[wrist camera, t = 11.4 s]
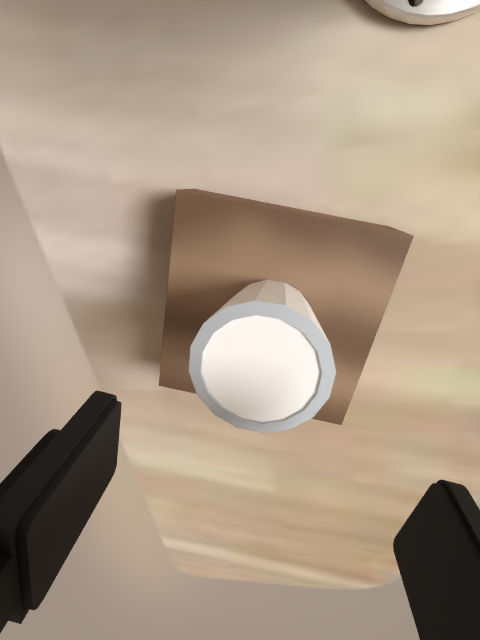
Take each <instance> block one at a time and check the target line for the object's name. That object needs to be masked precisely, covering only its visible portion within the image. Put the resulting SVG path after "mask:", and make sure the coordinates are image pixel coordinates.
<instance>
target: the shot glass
mask: <svg viewBox="0 0 480 640" xmlns="http://www.w3.org/2000/svg"><path fill="white" fill-rule="evenodd" d="M189 373H190V376H191V379H192V382H193V385H194V387H195V390H196V393H197V395H198V397H199V398H200V399H201V400H202V401H203V402H204V403H205V405H206V406H207V407H208V408H209V409H210V410H211V411H212V413H213V414H214V415H216V416H218V417H219V418H221V419H223V420H225V421H226V422H228V423H230V424H232V425H233V426H235V427H237V428H242V429H247V430H252V431H257V432H262V433H266V432H274V431H282V430H289V429H292V428H294V427H296V426H298V425H299V424H301V423H303V422H305V421H307V420H309V419H311V418H313V417H314V416H315V415H316V413H317V412H318V411H319V410H320V408H321V407H322V406H323V405H324V404H325V402H326V401H327V400H328V399H329V398H330V394H331V391H332V387H333V383H334V379H335V375H336V368H335V363H334V359H333V354H332V349H331V345H330V343H329V341H328V339H327V337H326V335H325V333H324V331H323V330H322V328H321V326H320V324H319V322H318V320H317V318H316V316H315V314H314V312H313V311H312V309H311V307H310V305H309V303H308V302H307V301H306V299H305V298H304V297H303V295H302V294H301V293H300V291H298V290H297V289H295V288H293V287H292V286H290V285H288V284H287V283H285V282H280V281H273V280H263V281H259V282H255V283H251V284H249V285H248V286H247V287H245V288H244V289H242V290H241V291H240V292H238V293H237V294H236V295H235V296H234V297H233V298H231V299H230V300H229V301H228V302H227V303H226V304H225V305H224V306H222V307H221V308H220V309H219V310H218V311H217V312H216V313H215V314H213V315H212V316H211V317H210V318H209V319H208V320H207V321H206V322H204V323H203V325H202V327H201V329H200V330H199V332H198V334H197V336H196V337H195V339H194V341H193V343H192V345H191V347H190V361H189Z"/></svg>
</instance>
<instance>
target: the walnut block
mask: <svg viewBox="0 0 480 640" xmlns="http://www.w3.org/2000/svg"><path fill="white" fill-rule="evenodd" d="M412 239H413V236H412V235H410V234H407V233H405V232H402V231H400V230H397V229H394V228H392V227H389V226H384V225H379V224H374V223H369V222H363V221H358V220H353V219H348V218H343V217H337V216H332V215H327V214H322V213H317V212H312V211H306V210H301V209H296V208H291V207H286V206H280V205H275V204H270V203H265V202H260V201H255V200H249V199H244V198H239V197H234V196H229V195H223V194H218V193H213V192H208V191H203V190H198V189H185V190H176V198H175V209H174V220H173V232H172V243H171V254H170V266H169V277H168V288H167V299H166V311H165V322H164V333H163V344H162V356H161V367H160V378H159V386H163V387H168V388H173V389H177V390H182V391H187V392H191V393H196V390H195V387H194V385H193V382H192V379H191V376H190V373H189V361H190V347H191V345H192V343H193V341H194V339H195V337H196V336H197V334H198V332H199V330H200V329H201V327H202V325H203V323H204V322H206V321H207V320H208V319H209V318H210V317H211V316H212V315H213V314H215V313H216V312H217V311H218V310H219V309H220V308H221V307H222V306H224V305H225V304H226V303H227V302H228V301H229V300H230V299H231V298H233V297H234V296H235V295H236V294H237V293H238V292H240V291H241V290H242V289H244V288H245V287H247V286H248V285H249V284H251V283H255V282H259V281H263V280H273V281H280V282H285V283H287V284H288V285H290V286H292V287H293V288H295V289H297V290H298V291H300V293H301V294H302V295H303V297H304V298H305V299H306V301H307V302H308V303H309V305H310V307H311V309H312V311H313V312H314V314H315V316H316V318H317V320H318V322H319V324H320V326H321V328H322V330H323V331H324V333H325V335H326V337H327V339H328V341H329V343H330V345H331V349H332V354H333V359H334V363H335V368H336V375H335V379H334V383H333V387H332V391H331V394H330V398H329V399H328V400H327V401H326V402H325V404H324V405H323V406H322V407H321V408H320V410H319V411H318V412H317V413H316V415H315V416H314V417H313V418H311V419H316V420H321V421H325V422H330V423H334V424H339V425H342V422H343V420H344V417H345V414H346V412H347V409H348V406H349V404H350V401H351V399H352V396H353V393H354V391H355V388H356V386H357V383H358V380H359V378H360V375H361V372H362V370H363V367H364V365H365V362H366V359H367V357H368V354H369V352H370V349H371V346H372V344H373V341H374V338H375V336H376V333H377V331H378V328H379V325H380V323H381V320H382V318H383V315H384V312H385V310H386V307H387V304H388V302H389V299H390V297H391V294H392V291H393V289H394V286H395V284H396V281H397V278H398V276H399V273H400V270H401V268H402V265H403V263H404V260H405V257H406V255H407V252H408V250H409V247H410V244H411V242H412ZM196 394H197V393H196Z"/></svg>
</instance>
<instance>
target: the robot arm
mask: <svg viewBox="0 0 480 640" xmlns="http://www.w3.org/2000/svg"><path fill="white" fill-rule="evenodd" d="M365 1H366V2H367V3H368V4H369V5H370V6H371V7H372V8H374V9H376V10H377V11H379V12H381V13H382V14H384V15H385V16H387V17H389V18H392V19H395V20H398V21H402V22H405V23H408V24H422V25H434V24H440V23H445V22H451V21H455V20H458V19H461V18H463V17H466V16H468V15H471V14H473V13H476V12H478V11H480V0H414V2H415V7H412V6H411V5H409V2H408V0H365ZM120 417H121V402H119V401H117V397H116V395H113V394H109V393H105V392H101V391H95V392H94V393H93V394H92V395H91V396H90V397H89V399H88V400H87V401H86V402H85V403H84V404H83V405H82V407H81V408H80V409H79V410H78V411H77V412H76V413H75V415H74V416H73V417H72V418H71V419H70V420H69V421H68V423H67V424H66V425H65V426H64V427H63V428H62V429H61V430H57V429H53V430H51V431H49V432H48V433H47V434H46V435H45V436H44V437H43V438H42V439H41V440H40V441H39V442H38V443H37V444H36V445H35V446H34V447H33V449H32V450H31V451H30V452H29V453H28V454H27V455H26V456H25V457H24V458H23V459H22V461H21V462H20V463H19V464H18V465H17V466H16V467H15V468H14V469H13V470H12V471H11V473H10V474H9V475H8V476H7V477H6V478H5V479H4V480H3V481H2V482H1V483H0V633H1V631H2V630H3V628H4V626H5V625H6V623H7V621H12V622H16V623H19V624H21V623H22V621H23V619H24V618H25V616H26V614H27V613H28V611H29V609H31V610H36V609H37V608H38V606H39V605H40V604H41V602H42V601H43V599H44V597H45V596H46V594H47V592H48V590H49V588H50V587H51V585H52V583H53V581H54V580H55V578H56V576H57V574H58V573H59V571H60V569H61V567H62V565H63V564H64V562H65V560H66V558H67V557H68V555H69V553H70V551H71V550H72V548H73V546H74V544H75V542H76V541H77V539H78V537H79V535H80V534H81V532H82V530H83V528H84V526H85V525H86V523H87V521H88V519H89V518H90V516H91V514H92V512H93V511H94V509H95V507H96V505H97V504H98V502H99V500H100V498H101V496H102V495H103V493H104V491H105V489H106V487H107V486H108V484H109V482H110V481H111V479H112V477H113V475H114V472H115V469H116V465H117V453H118V442H119V429H120ZM393 548H394V554H395V557H396V560H397V564H398V567H399V570H400V574H401V577H402V580H403V584H404V587H405V591H406V593H407V597H408V601H409V604H410V607H411V611H412V614H413V617H414V620H415V624H416V627H417V631H418V634H419V638H420V640H480V510H479V508H478V506H477V505H476V503H475V501H474V500H473V498H472V496H471V495H470V493H469V491H468V490H467V489H466V487H465V486H463V485H461V484H457V483H453V482H449V481H445V480H439V481H438V482H437V483H433V484H432V485H431V486H430V487H429V489H428V490H427V491H426V493H425V494H424V496H423V497H422V499H421V500H420V502H419V503H418V505H417V506H416V508H415V509H414V510H413V512H412V513H411V515H410V516H409V518H408V519H407V521H406V522H405V524H404V525H403V527H402V528H401V529H400V531H399V532H398V534H397V535H396V537H395V539H394V543H393Z"/></svg>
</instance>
